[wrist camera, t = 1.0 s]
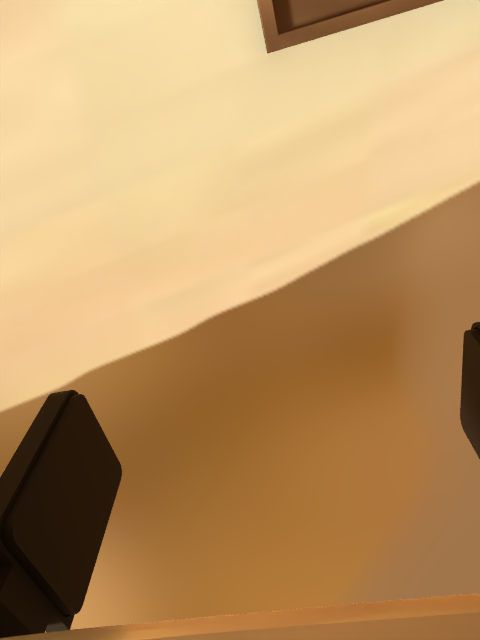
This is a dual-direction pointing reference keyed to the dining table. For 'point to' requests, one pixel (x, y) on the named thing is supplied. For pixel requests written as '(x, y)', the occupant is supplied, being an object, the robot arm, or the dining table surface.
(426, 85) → the dining table surface
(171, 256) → the dining table surface
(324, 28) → the walnut tray
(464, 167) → the dining table surface
